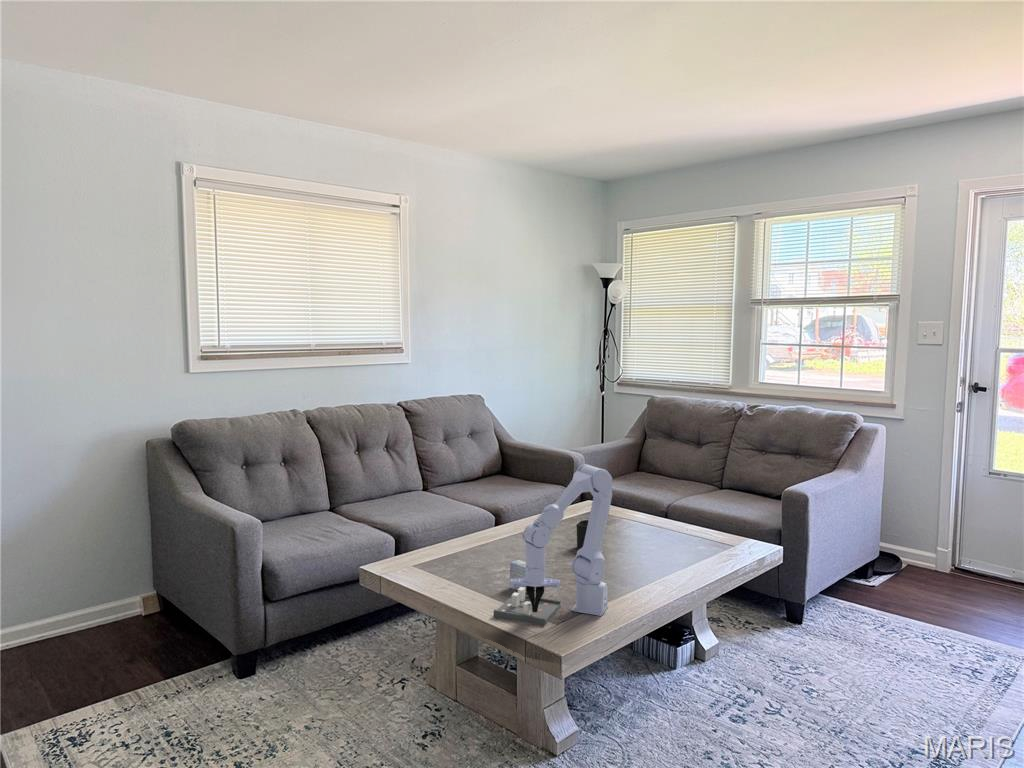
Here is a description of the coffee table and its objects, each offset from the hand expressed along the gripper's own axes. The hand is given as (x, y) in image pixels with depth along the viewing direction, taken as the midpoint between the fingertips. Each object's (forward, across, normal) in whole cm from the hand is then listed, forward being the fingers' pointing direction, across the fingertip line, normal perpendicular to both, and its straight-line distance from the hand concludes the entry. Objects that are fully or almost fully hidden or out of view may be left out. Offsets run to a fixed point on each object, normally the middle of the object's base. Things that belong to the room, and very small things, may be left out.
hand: (534, 610), depth 203 cm
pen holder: (+3, -22, -68) cm, 72 cm away
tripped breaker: (+2, +2, -1) cm, 3 cm away
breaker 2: (+2, +4, -12) cm, 13 cm away
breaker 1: (+2, +6, -8) cm, 10 cm away
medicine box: (+3, +4, -24) cm, 25 cm away
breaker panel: (+3, +2, -6) cm, 7 cm away
